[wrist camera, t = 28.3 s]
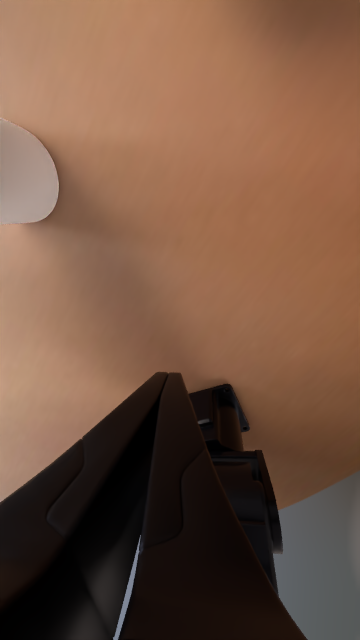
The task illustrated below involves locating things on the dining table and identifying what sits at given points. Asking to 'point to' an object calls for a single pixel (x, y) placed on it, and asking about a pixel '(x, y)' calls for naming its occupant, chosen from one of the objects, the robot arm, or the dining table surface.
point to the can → (25, 176)
